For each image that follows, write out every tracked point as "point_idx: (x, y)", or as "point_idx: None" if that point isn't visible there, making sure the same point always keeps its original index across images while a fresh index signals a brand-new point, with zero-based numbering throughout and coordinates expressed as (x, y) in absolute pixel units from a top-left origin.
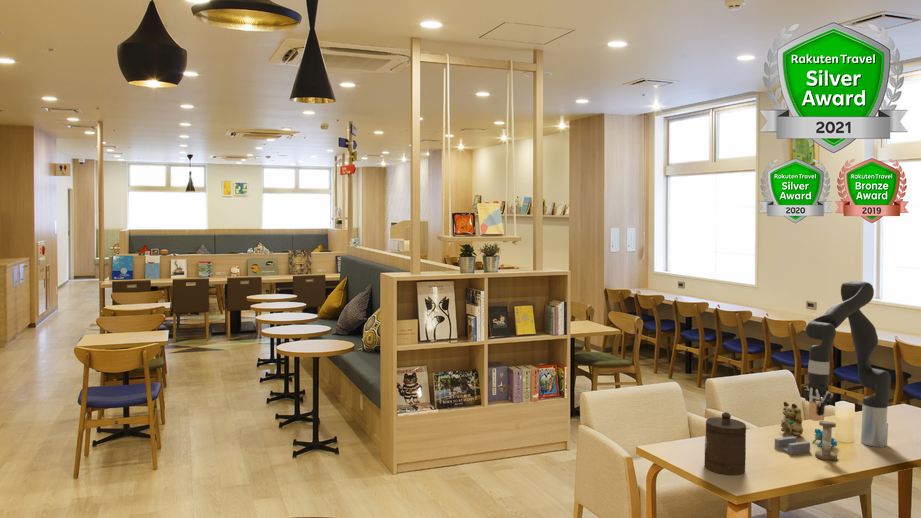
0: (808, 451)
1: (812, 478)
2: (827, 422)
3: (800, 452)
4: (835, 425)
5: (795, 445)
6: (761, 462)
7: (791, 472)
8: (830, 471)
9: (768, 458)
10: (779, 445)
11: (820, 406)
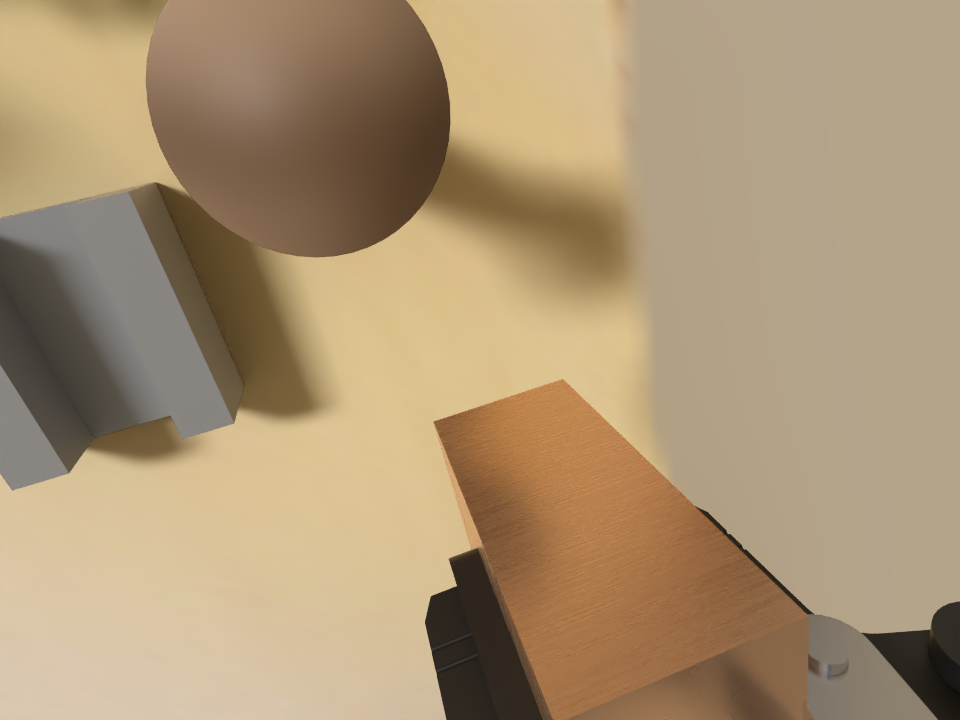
0: (161, 200)
1: (657, 464)
2: (283, 94)
3: (204, 299)
4: (421, 28)
5: (219, 384)
6: (398, 626)
7: None
8: (593, 297)
9: (328, 569)
10: (85, 438)
11: None
